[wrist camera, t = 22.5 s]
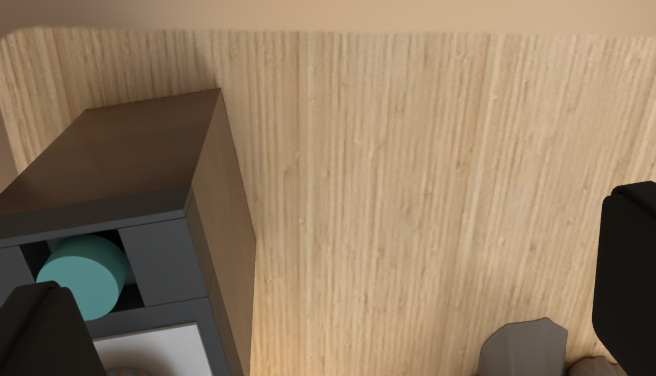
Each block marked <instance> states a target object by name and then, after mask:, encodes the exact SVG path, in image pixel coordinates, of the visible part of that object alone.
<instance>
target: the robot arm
mask: <svg viewBox="0 0 656 376" xmlns="http://www.w3.org/2000/svg"><path fill="white" fill-rule="evenodd" d="M592 324H593V328H594V331H595V333H596V335H597V337H598V338H599V340H600V341H601V342H602V343H603V345H604V346H605V347H606V349H607V350H608V351H609V352H610V354H611V355H612V356H613V357H614V359H615V360H616V361H617V362H618V364H619V365H620V366H621V368H622V369H623V370H624V371H625V373H626V374H627V375H628V376H656V183H655V182H653V181H645V182H639V183H633V184H627V185H621V186H617V187H615V188H614V189H613V191H612V192H611V196H607V197H605V199H604V200H603V204H602V213H601V223H600V234H599V245H598V256H597V266H596V277H595V288H594V299H593V309H592ZM0 376H107V374H106V372H105V369H104V367H103V364H102V362H101V360H100V357H99V355H98V353H97V350H96V348H95V345H94V343H93V341H92V338H91V336H90V334H89V331H88V329H87V326H86V324H85V322H84V319H83V317H82V315H81V312H80V310H79V308H78V305H77V303H76V300H75V298H74V296H73V293H72V292H71V290H70V289H69V288H68V287H61V286H60V285H59V284H58V283H57V282H56V281H53V280H50V281H44V282H38V283H32V284H26V285H21V286H17V287H16V288H15V289H14V290H13V291H12V292H11V294H10V295H9V297H8V298H7V299H6V301H5V302H4V304H3V305H2V307H1V308H0Z"/></svg>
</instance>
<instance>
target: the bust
mask: <svg viewBox="0 0 656 376" xmlns="http://www.w3.org/2000/svg"><path fill="white" fill-rule="evenodd" d="M567 336H568V331H567V330H566V329H564V328H562V327H560V326H559V325H557V324H555V323H553V322H552V321H551V320H550V319H548V318H543V319H540V320H537V321H530V322H523V323H514V324H507V325H505V326H503V327H502V328H501V329H500V330H498V331H497V332H496V333H494V334H493V335H492V336H491V337H490V338H489V339H488V340H487V341H486V342H485V344H484V345H483V347H482V350H481V354H480V360H479V368H478V376H628V375H627V374H626V373H625V371H624V370H623V369H622V368H621V366H620V365H618V364H609V362H608V361H607V360H606V359H605V357H594V358H584V359H582V360H580V361H579V362H577V363H576V364H574V365H573V366H572V367H571V368H570V369H569V370H568V372H566V370H565V355H566V344H567Z"/></svg>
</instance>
